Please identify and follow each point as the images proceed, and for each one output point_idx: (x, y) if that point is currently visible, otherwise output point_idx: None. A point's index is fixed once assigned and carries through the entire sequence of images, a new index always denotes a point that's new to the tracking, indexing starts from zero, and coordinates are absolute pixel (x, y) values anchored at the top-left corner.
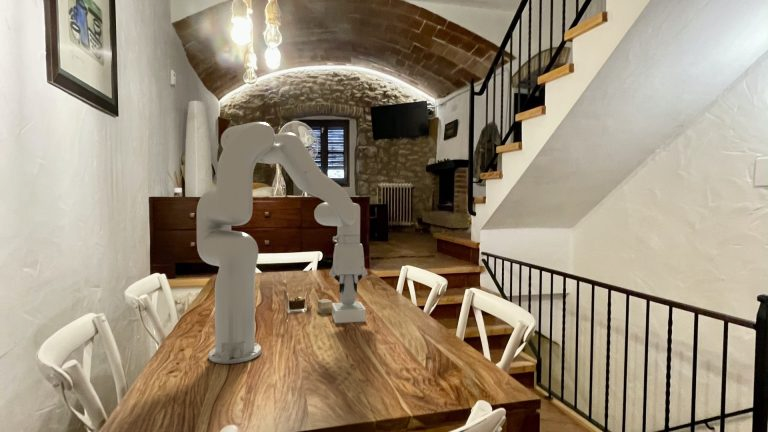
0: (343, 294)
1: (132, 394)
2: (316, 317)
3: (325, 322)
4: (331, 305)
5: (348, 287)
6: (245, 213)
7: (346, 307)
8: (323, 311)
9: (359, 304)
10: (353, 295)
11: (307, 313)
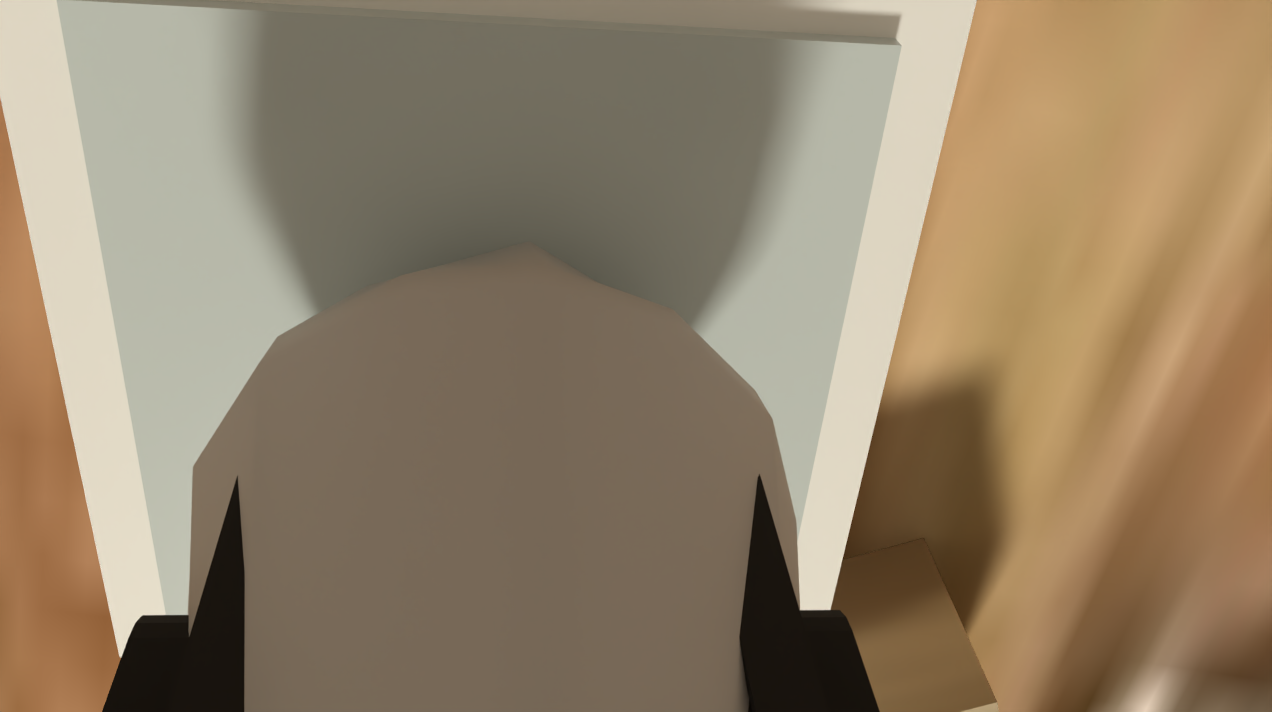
0: (732, 463)
1: None
2: (1092, 378)
3: (1057, 18)
4: None
5: (552, 647)
6: None
7: (588, 184)
8: (911, 575)
9: (158, 393)
10: (327, 391)
11: (1140, 603)
